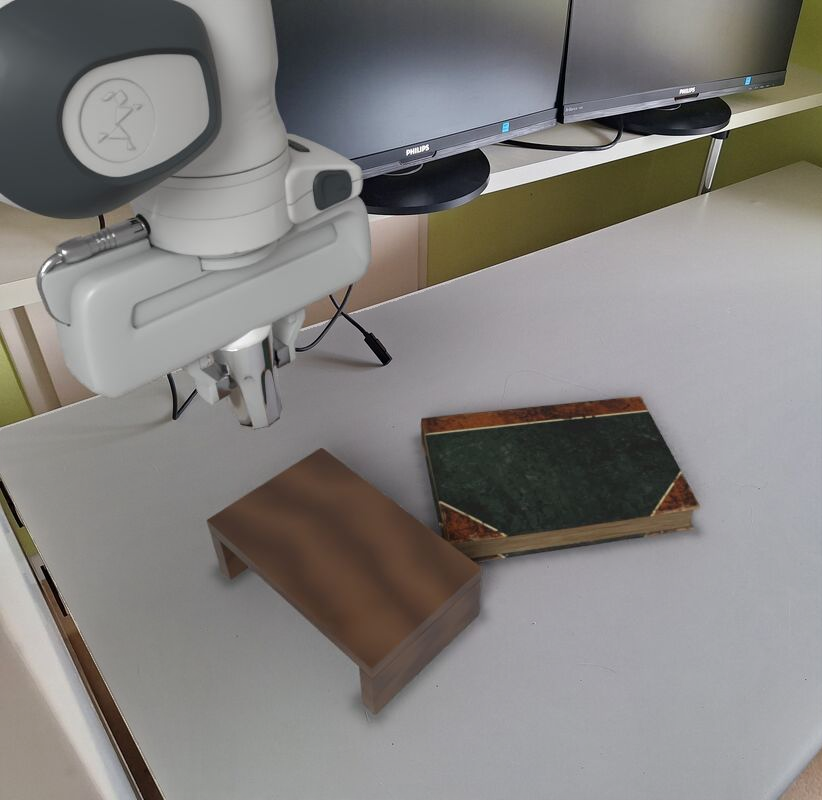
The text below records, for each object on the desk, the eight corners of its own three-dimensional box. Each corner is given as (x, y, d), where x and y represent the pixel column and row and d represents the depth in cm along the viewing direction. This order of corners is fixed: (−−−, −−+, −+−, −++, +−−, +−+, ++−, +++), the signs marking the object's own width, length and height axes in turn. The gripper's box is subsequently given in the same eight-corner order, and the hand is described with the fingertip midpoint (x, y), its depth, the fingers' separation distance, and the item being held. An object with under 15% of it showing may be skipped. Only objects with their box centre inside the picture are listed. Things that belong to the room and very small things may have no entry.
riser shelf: (375, 715, 59) (371, 668, 55) (220, 570, 68) (205, 519, 63) (478, 616, 67) (482, 567, 62) (327, 496, 75) (321, 446, 71)
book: (446, 568, 70) (693, 531, 76) (447, 543, 68) (702, 507, 74) (420, 438, 83) (634, 415, 89) (419, 413, 80) (639, 391, 86)
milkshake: (269, 378, 58) (242, 267, 51) (302, 418, 55) (278, 306, 48) (211, 403, 56) (174, 290, 49) (242, 446, 53) (208, 332, 46)
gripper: (58, 281, 36) (132, 482, 45) (382, 161, 48) (388, 336, 58) (-7, 231, 38) (75, 430, 47) (316, 130, 51) (332, 302, 60)
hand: (249, 377), depth 53 cm, fingers closed on milkshake, 4 cm apart
